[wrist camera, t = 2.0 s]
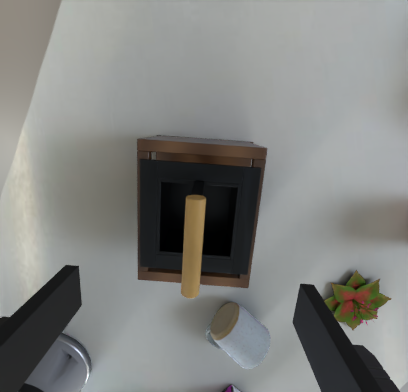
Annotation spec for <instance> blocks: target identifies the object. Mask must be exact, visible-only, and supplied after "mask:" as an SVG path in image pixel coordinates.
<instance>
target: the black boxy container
mask: <svg viewBox="0 0 408 392" xmlns="http://www.w3.org/2000/svg"><path fill="white" fill-rule="evenodd" d="M261 170H262V168H260V167H246V166H244V167H243V166H232V165H219V164H205V163H191V162H178V161H164V160H150V159H140V267H149V268H162V269H175V270H182V282H181V294H182V295H183V296H184V297H186V298H195V297H197V296H198V294H199V288H200V274H201V272H214V273H227V274H240V275H247V274H248V267H249V259H250V252H251V244H252V237H253V229H254V222H255V214H256V207H257V199H258V192H259V185H260V177H261Z"/></svg>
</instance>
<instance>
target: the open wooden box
mask: <svg viewBox="0 0 408 392" xmlns="http://www.w3.org/2000/svg"><path fill="white" fill-rule="evenodd" d="M137 150H138V151H137V175H138V280H150V281H163V282H176V283H181V282H182V270H175V269H162V268H149V267H140V159H150V160H151V152H156V160H164V161H178V162H191V163H205V164H219V165H232V166H243V167H244V166H246V167H260V168H262V170H261V177H260V185H259V192H258V199H257V207H256V214H255V222H254V229H253V237H252V244H251V252H250V259H249V267H248V274H247V275H240V274H227V273H214V272H201V274H200V284H202V285H215V286H228V287H241V288H248V287H249V279H250V272H251V265H252V257H253V250H254V243H255V236H256V228H257V221H258V214H259V206H260V199H261V192H262V184H263V177H264V170H265V163H266V155H267V148H265V147H262V146H259V145H256V144H253V142H244V141H230V140H217V139H203V138H189V137H175V136H161V135H157V136H155V137H147V138H139V139H137ZM251 159H252V165H251Z"/></svg>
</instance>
